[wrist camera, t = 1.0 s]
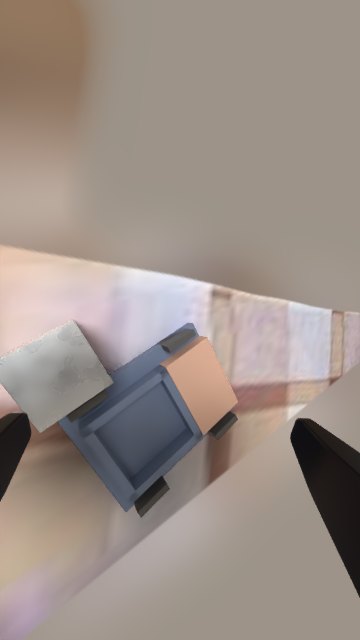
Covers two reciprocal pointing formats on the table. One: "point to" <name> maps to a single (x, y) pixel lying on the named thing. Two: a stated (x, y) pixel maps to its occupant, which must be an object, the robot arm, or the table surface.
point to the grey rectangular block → (53, 374)
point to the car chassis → (153, 416)
